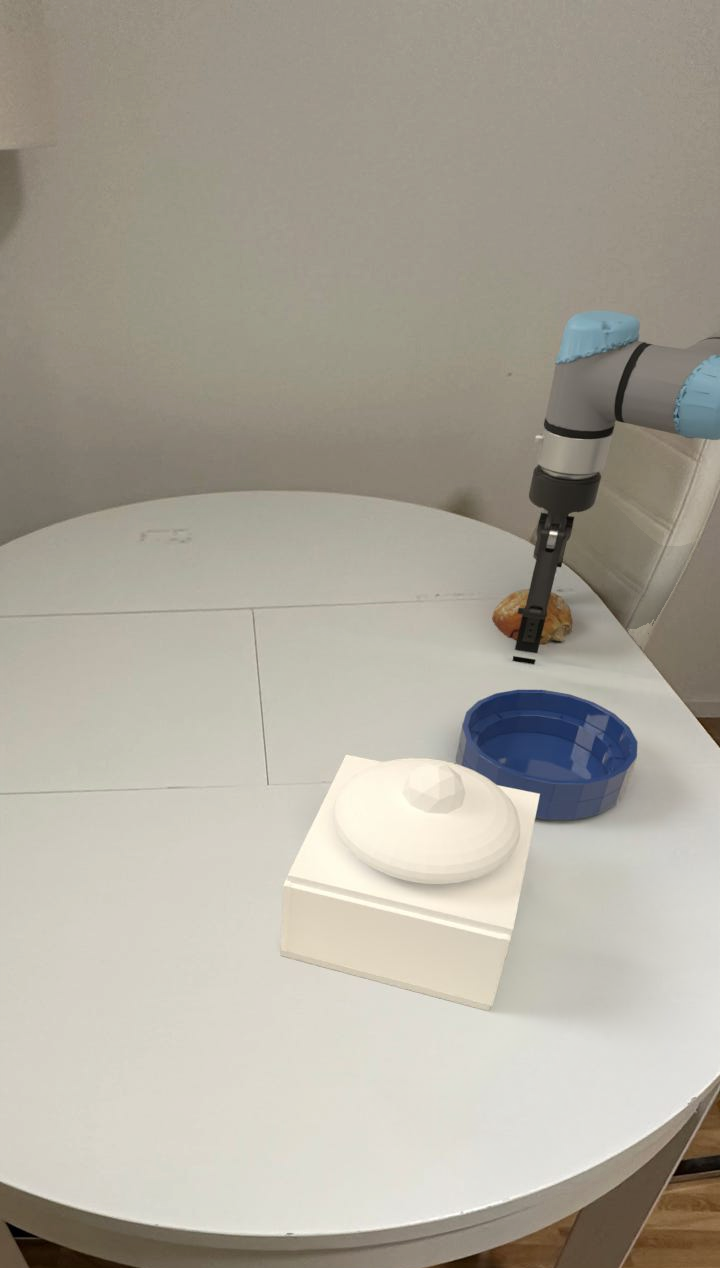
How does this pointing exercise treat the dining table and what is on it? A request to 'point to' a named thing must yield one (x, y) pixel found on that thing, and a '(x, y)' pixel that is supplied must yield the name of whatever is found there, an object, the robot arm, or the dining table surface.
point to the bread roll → (555, 622)
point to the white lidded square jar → (411, 878)
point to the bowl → (550, 750)
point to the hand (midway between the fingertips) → (529, 637)
